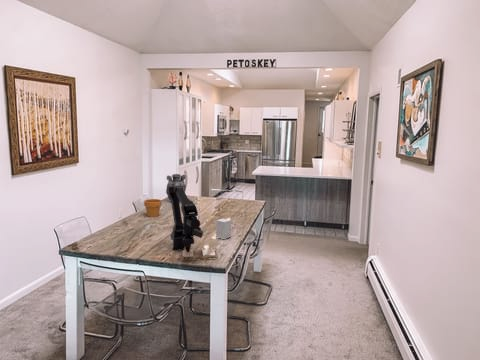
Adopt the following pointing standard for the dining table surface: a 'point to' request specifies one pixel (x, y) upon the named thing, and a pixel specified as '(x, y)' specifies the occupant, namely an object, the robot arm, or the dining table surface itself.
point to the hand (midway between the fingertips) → (188, 251)
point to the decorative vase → (176, 181)
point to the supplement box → (223, 228)
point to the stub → (188, 253)
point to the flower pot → (152, 207)
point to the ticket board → (202, 254)
